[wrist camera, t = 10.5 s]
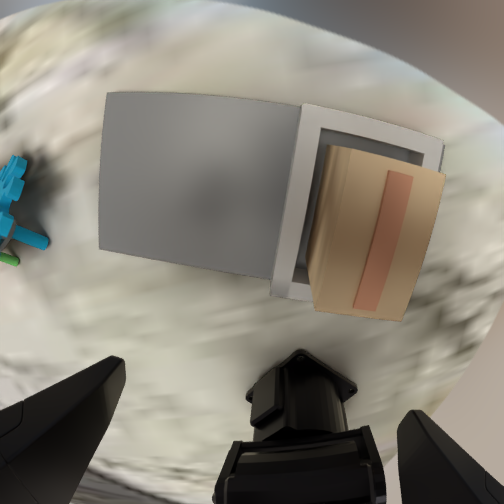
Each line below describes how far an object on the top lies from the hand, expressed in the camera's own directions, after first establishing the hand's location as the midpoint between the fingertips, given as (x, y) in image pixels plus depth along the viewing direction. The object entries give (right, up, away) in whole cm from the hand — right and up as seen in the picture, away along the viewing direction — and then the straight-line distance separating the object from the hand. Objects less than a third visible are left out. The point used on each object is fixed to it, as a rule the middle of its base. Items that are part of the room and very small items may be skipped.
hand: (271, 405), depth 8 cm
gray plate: (0, +8, +10) cm, 13 cm away
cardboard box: (+5, +7, +9) cm, 12 cm away
